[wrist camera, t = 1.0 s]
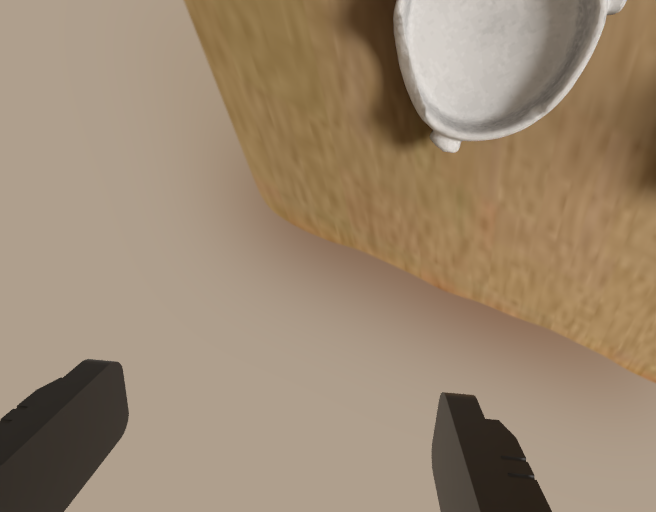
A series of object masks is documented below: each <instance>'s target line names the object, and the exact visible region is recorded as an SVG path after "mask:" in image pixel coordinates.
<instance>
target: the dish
mask: <svg viewBox="0 0 656 512" xmlns="http://www.w3.org/2000/svg"><path fill="white" fill-rule="evenodd" d="M626 1H627V0H396V4H395V9H394V16H393V24H394V37H395V44H396V49H397V55H398V61H399V66H400V70H401V73H402V77H403V80H404V83H405V86H406V89H407V91H408V94H409V96H410V99H411V101H412V103H413V105H414V107H415V109H416V111H417V113H418V114H419V116H420V117H421V118H422V120H423V121H424V122H425V123H426V124H427V125H428V126H429V127H430V128H432V129H433V131H432V133H431V134H430V139H431V140H432V141H433V143H434V144H435V145H436V146H437V147H439V148H440V149H441V150H442V151H444V152H451V153H455V152H457V151H458V150H459V147H460V143H461V142H462V141H484V140H491V139H498V138H501V137H505V136H508V135H511V134H514V133H516V132H519V131H521V130H523V129H525V128H527V127H528V126H530V125H532V124H533V123H535V122H536V121H538V120H539V119H541V118H542V117H543V116H545V115H546V114H547V113H548V112H550V111H551V110H552V109H553V108H554V107H555V106H556V105H557V104H558V103H559V102H560V101H561V100H562V99H563V98H564V97H565V95H566V94H567V93H568V92H569V91H570V89H571V88H572V87H573V85H574V84H575V82H576V81H577V79H578V78H579V76H580V74H581V73H582V71H583V70H584V68H585V66H586V64H587V63H588V61H589V59H590V57H591V55H592V53H593V51H594V49H595V47H596V45H597V43H598V40H599V38H600V35H601V33H602V30H603V27H604V24H605V20H606V16H607V15H613V14H616V13H618V12H619V11H621V10H622V8H623V6H624V5H625V3H626Z"/></svg>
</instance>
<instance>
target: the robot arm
mask: <svg viewBox="0 0 656 512" xmlns="http://www.w3.org/2000/svg"><path fill="white" fill-rule="evenodd" d="M128 414H129V412H128V404H127V397H126V390H125V382H124V375H123V369H122V366H121V364H120V363H119V362H114V361H103V360H92V359H87V360H84V361H82V362H81V363H80V364H79V365H78V366H76V367H75V368H74V369H73V370H72V371H70V372H69V373H68V374H67V375H66V376H64V377H63V378H59V379H57V380H55V381H53V382H51V383H49V384H47V385H45V386H43V387H41V388H39V389H38V390H36V391H35V392H34V393H32V394H31V395H30V396H29V397H27V398H26V399H25V400H24V401H22V402H21V403H20V404H19V405H17V408H16V409H12V410H11V411H10V412H9V413H7V414H6V415H5V416H4V417H3V418H2V419H1V421H0V512H64V511H65V509H66V508H67V507H68V506H69V504H70V503H71V502H72V500H73V499H74V498H75V497H76V495H77V494H78V493H79V491H80V490H81V489H82V488H83V486H84V485H85V484H86V482H87V481H88V480H89V479H90V477H91V476H92V475H93V473H94V472H95V471H96V470H97V468H98V467H99V466H100V464H101V463H102V462H103V461H104V459H105V458H106V457H107V455H108V454H109V453H110V452H111V450H112V449H113V448H114V446H115V445H116V444H117V442H118V441H119V440H120V438H121V437H122V435H123V434H124V431H125V429H126V426H127V422H128V416H129V415H128ZM432 469H433V475H434V480H435V484H436V490H437V495H438V500H439V505H440V510H441V512H552V511H551V509H550V507H549V505H548V503H547V501H546V498H545V496H544V494H543V492H542V490H541V488H540V486H539V484H538V482H537V480H535V479H534V474H533V472H532V470H531V468H530V466H529V464H528V462H526V457H525V455H524V453H523V451H522V449H521V447H520V445H519V443H518V441H517V439H516V437H515V436H514V435H513V434H512V433H511V432H510V431H509V430H508V429H507V428H506V427H505V426H504V425H503V424H502V423H501V422H500V421H499V420H491V419H485V418H484V415H483V413H482V410H481V408H480V406H479V403H478V401H477V399H476V397H475V396H474V395H466V394H455V393H441V395H440V399H439V405H438V411H437V417H436V423H435V430H434V436H433V443H432Z"/></svg>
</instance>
